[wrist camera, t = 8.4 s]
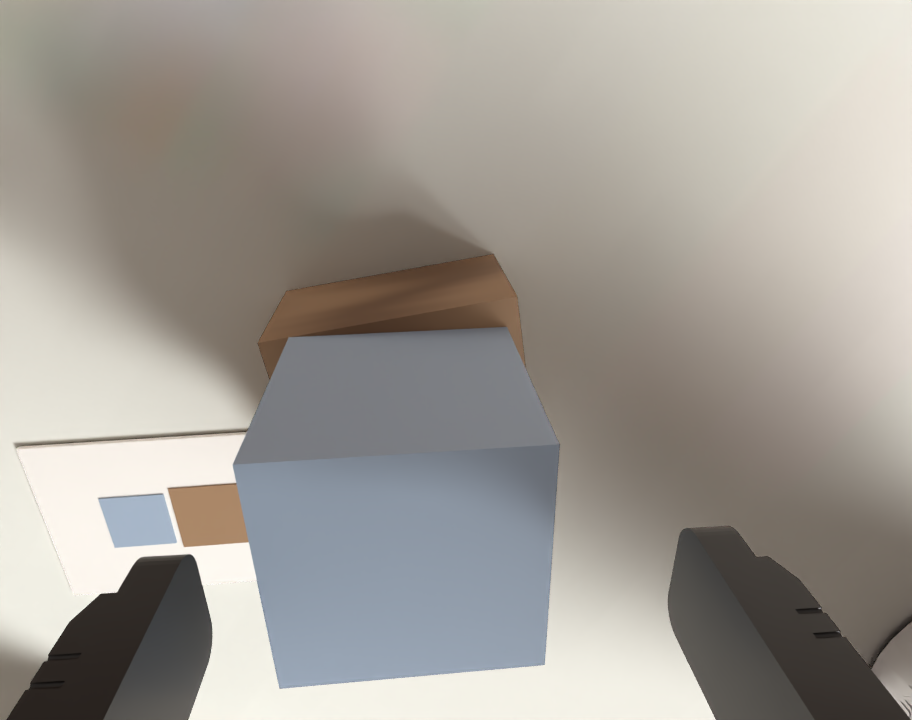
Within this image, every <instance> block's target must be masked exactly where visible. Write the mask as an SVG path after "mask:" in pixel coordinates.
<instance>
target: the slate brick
mask: <svg viewBox="0 0 912 720" xmlns="http://www.w3.org/2000/svg"><path fill="white" fill-rule="evenodd" d="M559 447H560V444H559V442H558V440H557V437H556V435H555V433H554V431H553V428H552V426H551V424H550V422H549V419H548V417H547V415H546V413H545V411H544V408H543V406H542V404H541V402H540V399H539V397H538V395H537V393H536V391H535V388H534V386H533V384H532V382H531V379H530V377H529V375H528V373H527V370H526V368H525V366H524V364H523V362H522V359H521V357H520V355H519V353H518V350H517V348H516V346H515V344H514V341H513V339H512V337H511V335H510V333H509V330H508V328H507V327H495V328H474V329H452V330H431V331H410V332H389V333H368V334H347V335H326V336H305V337H289V338H288V340H287V342H286V345H285V347H284V349H283V351H282V354H281V356H280V358H279V361H278V363H277V365H276V367H275V370H274V372H273V374H272V376H271V379H270V381H269V383H268V385H267V388H266V390H265V392H264V394H263V397H262V399H261V401H260V404H259V406H258V408H257V410H256V413H255V415H254V417H253V419H252V422H251V424H250V426H249V428H248V431H247V433H246V435H245V437H244V440H243V442H242V444H241V447H240V449H239V451H238V453H237V456H236V458H235V460H234V462H233V470H234V474H235V479H236V484H237V489H238V493H239V498H240V503H241V508H242V512H243V517H244V522H245V527H246V531H247V536H248V541H249V546H250V550H251V555H252V560H253V565H254V569H255V574H256V579H257V584H258V588H259V593H260V598H261V603H262V607H263V612H264V617H265V622H266V626H267V631H268V636H269V641H270V645H271V650H272V655H273V660H274V664H275V669H276V674H277V679H278V683H279V688H280V689H281V688H292V687H303V686H315V685H326V684H337V683H348V682H359V681H371V680H382V679H393V678H404V677H415V676H426V675H438V674H449V673H460V672H471V671H482V670H493V669H505V668H516V667H527V666H538V665H545V652H546V637H547V622H548V608H549V593H550V578H551V564H552V549H553V534H554V520H555V505H556V491H557V476H558V461H559Z"/></svg>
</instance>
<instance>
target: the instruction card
mask: <svg viewBox="0 0 912 720" xmlns="http://www.w3.org/2000/svg"><path fill="white" fill-rule="evenodd" d="M246 433H247V432H238V433H223V434H207V435H191V436H176V437H160V438H145V439H129V440H113V441H98V442H82V443H67V444H51V445H35V446H20V447H18V448H17V449H16V451H17V454H18V456H19V459H20V461H21V464H22V466H23V469H24V471H25V474H26V476H27V479H28V481H29V484H30V486H31V489H32V491H33V494H34V496H35V499H36V501H37V504H38V506H39V509H40V511H41V514H42V517H43V519H44V522H45V524H46V527H47V529H48V532H49V534H50V537H51V539H52V542H53V544H54V547H55V549H56V552H57V554H58V557H59V559H60V562H61V564H62V567H63V569H64V572H65V574H66V577H67V579H68V582H69V584H70V587H71V590H72V592H73V595H74V596H76V595H89V594H101V593H113V592H118V590H119V588H120V586H121V585H122V583H123V581H124V580H125V578H126V576H127V574H128V573H129V571H130V569H131V568H132V566H133V565H134V563H135V562H136V561H137V560H138V559H139V558H141V557H147V556H165V555H183V554H191V555H192V556H193V557H194V558H195V560H196V563H197V566H198V570H199V574H200V578H201V582H202V585H212V584H224V583H236V582H248V581H257V579H256V574H255V569H254V565H253V560H252V555H251V550H250V546H249V541H248V536H247V531H246V527H245V522H244V517H243V512H242V508H241V503H240V498H239V493H238V489H237V484H236V479H235V474H234V470H233V462H234V460H235V458H236V456H237V453H238V451H239V449H240V447H241V444H242V442H243V440H244V437H245V435H246Z"/></svg>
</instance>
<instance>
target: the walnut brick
mask: <svg viewBox="0 0 912 720" xmlns="http://www.w3.org/2000/svg"><path fill="white" fill-rule="evenodd" d="M495 327H507V328H508V330H509V333H510V335H511V337H512V339H513V341H514V344H515V346H516V348H517V350H518V353H519V355H520V357H521V359H522V362H523V364H524V366H525V358H524V349H523V341H522V333H521V324H520V316H519V307H518V299H517V295H516V293H515V292H514V290H513V288H512V286H511V284H510V283H509V281H508V279H507V277H506V276H505V274H504V272H503V270H502V268H501V267H500V265H499V263H498V261H497V260H496V258H495V256H494V254H491V255H486V256H480V257H475V258H469V259H463V260H458V261H452V262H447V263H441V264H435V265H430V266H424V267H419V268H413V269H407V270H402V271H396V272H391V273H385V274H379V275H374V276H368V277H362V278H357V279H351V280H346V281H340V282H334V283H329V284H323V285H318V286H312V287H306V288H301V289H295V290H290V291H286V293H285V294H284V296H283V298H282V300H281V302H280V303H279V305H278V307H277V309H276V311H275V312H274V314H273V316H272V318H271V320H270V321H269V323H268V325H267V327H266V329H265V330H264V332H263V334H262V336H261V338H260V339H259V341H258V346H259V349H260V352H261V355H262V358H263V361H264V364H265V367H266V370H267V373H268V376H269V379H271V376H272V374H273V372H274V370H275V367H276V365H277V363H278V361H279V358H280V356H281V354H282V351H283V349H284V347H285V345H286V342H287V340H288V338H289V337H305V336H326V335H347V334H368V333H389V332H410V331H431V330H452V329H474V328H495ZM525 368H526V366H525Z"/></svg>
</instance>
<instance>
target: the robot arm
mask: <svg viewBox="0 0 912 720" xmlns="http://www.w3.org/2000/svg"><path fill="white" fill-rule="evenodd" d="M821 608H822V607H821V606H820V605H819V604H818V602H817V601H816V600H815V599H814V597H813V596H812V595H811V594H810V592H809V591H808V590H807V588H806V587H805V586H804V585H803V583H802V582H801V581H800V580H799V579H798V578H797V577H795V576H794V575H793V574H791V573H790V572H789V571H787V570H786V569H785V568H783V567H782V566H781V565H779V564H778V563H776V562H775V561H774V560H772V559H771V558H770V557H768V556H765V557H756V556H755V555H754V553H753V552H752V551H751V549H750V548H749V547H748V545H747V544H746V542H745V541H744V540H743V538H742V537H741V536H740V534H739V533H738V532H737V531H736V530H735V529H734V528H732V527H730V526H719V527H700V528H686V529H683V530H682V532H681V533H680V536H679V540H678V545H677V551H676V556H675V561H674V567H673V572H672V577H671V583H670V588H669V594H668V610H669V617H670V621H671V625H672V628H673V631H674V634H675V636H676V638H677V640H678V642H679V645H680V647H681V649H682V651H683V653H684V655H685V657H686V659H687V661H688V663H689V665H690V667H691V669H692V671H693V673H694V675H695V677H696V679H697V682H698V684H699V686H700V688H701V690H702V692H703V694H704V696H705V698H706V700H707V702H708V704H709V706H710V708H711V710H712V712H713V714H714V717H715V719H716V720H912V622H911V623H909V624H908V625H907V626H906V627H905V628H904V629H903V630H901V631H900V632H899V633H898V634H897V635H896V636H895V637H894V638H893V639H892V640H891V641H890V642H889V643H888V645H887V646H886V647H885V648H884V650H883V651H882V652H881V653H880V655H879V656H878V658H877V660H876V662H875V664H874V665H873V667H872V669H870V668H869V666H868V665H867V664H866V663H865V661H864V660H863V659H862V658H861V656H860V655H859V654H858V653H857V651H856V650H855V649H854V647H853V646H852V645H851V644H850V642H849V641H848V640H847V639H846V637H842V636H841V634H840V630H839V629H838V627H837V626H836V625H835V624H834V622H833V621H832V620H831V619H830V617H829V616H828V615H827V614H826V613H823V612H822V610H821ZM211 646H212V623H211V618H210V614H209V610H208V606H207V602H206V598H205V594H204V590H203V586H202V582H201V578H200V574H199V570H198V566H197V563H196V560H195V558H194V557H193V556H192V555H191V554H183V555H165V556H147V557H141V558H139V559H138V560H137V561H136V562H135V563H134V565H133V566H132V568H131V569H130V571H129V573H128V574H127V576H126V578H125V580H124V581H123V583H122V585H121V586H120V588H119V590H118V592H117V593H104V594H100V595H99V596H98V597H97V598H96V599H95V600H93V601H92V602H91V603H90V604H89V605H88V606H87V607H86V608H85V609H83V610H82V611H81V612H80V613H79V614H78V615H77V616H76V617H75V618H73V619H72V620H71V621H70V622H69V623H68V625H67V627H66V628H65V630H64V631H63V633H62V634H61V636H60V637H59V639H58V641H57V642H56V644H55V645H54V647H53V648H52V650H51V651H50V653H49V655H48V656H49V657H48V660H47V661H45V662H43V664H42V665H41V667H40V669H39V670H38V672H37V673H36V675H35V676H34V678H33V679H32V681H31V683H30V684H31V685H30V689H29V690H25V692H24V693H23V695H22V697H21V698H20V700H19V701H18V703H17V704H16V706H15V707H14V709H13V711H12V712H11V714H10V715H9V717H8V718H7V720H188V719H189V716H190V713H191V710H192V708H193V705H194V702H195V699H196V696H197V693H198V691H199V688H200V685H201V682H202V679H203V677H204V674H205V671H206V668H207V665H208V662H209V658H210V653H211Z"/></svg>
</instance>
